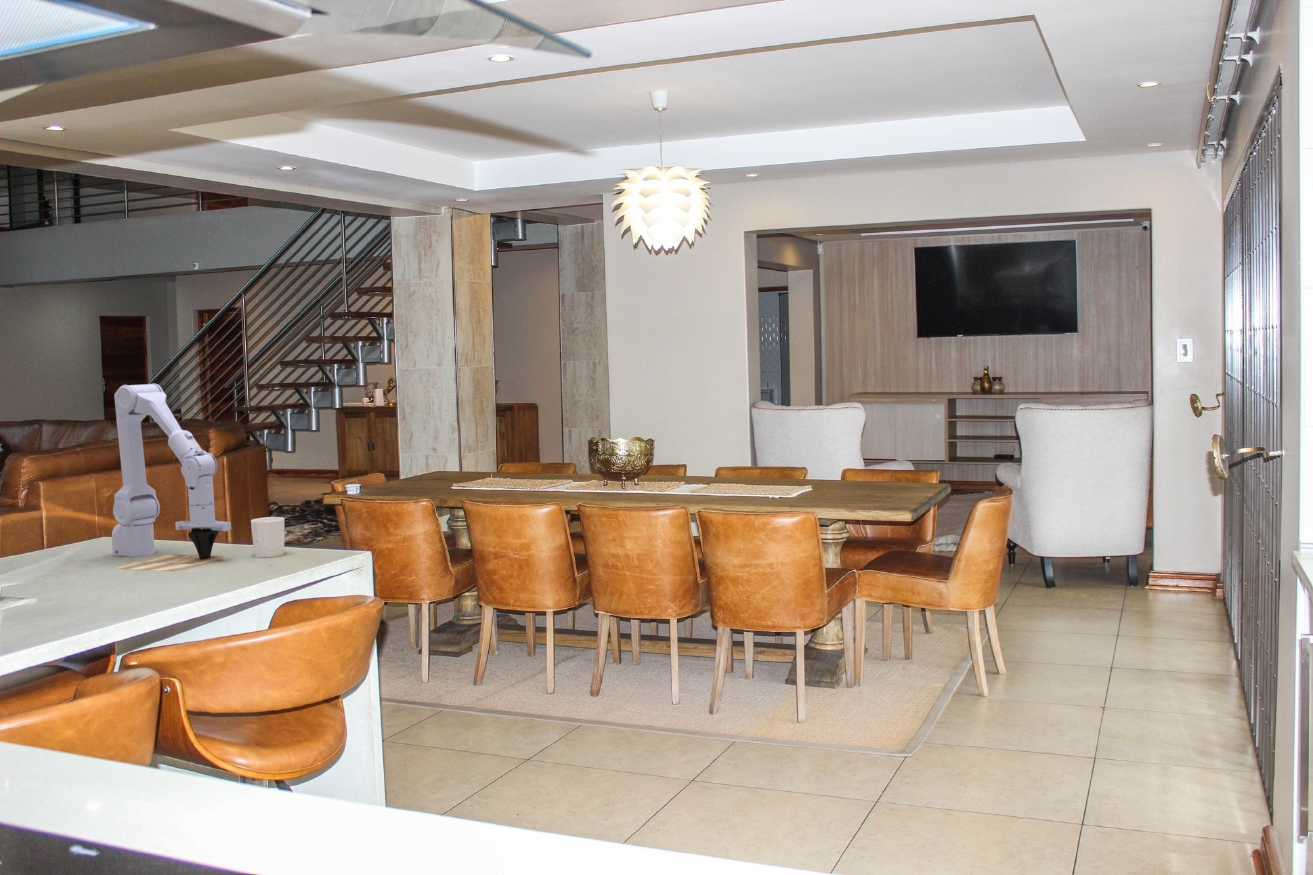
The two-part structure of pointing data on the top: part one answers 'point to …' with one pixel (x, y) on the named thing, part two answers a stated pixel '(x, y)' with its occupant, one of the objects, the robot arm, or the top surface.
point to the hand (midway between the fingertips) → (205, 559)
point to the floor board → (158, 566)
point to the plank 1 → (169, 558)
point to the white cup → (268, 536)
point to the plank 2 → (198, 560)
